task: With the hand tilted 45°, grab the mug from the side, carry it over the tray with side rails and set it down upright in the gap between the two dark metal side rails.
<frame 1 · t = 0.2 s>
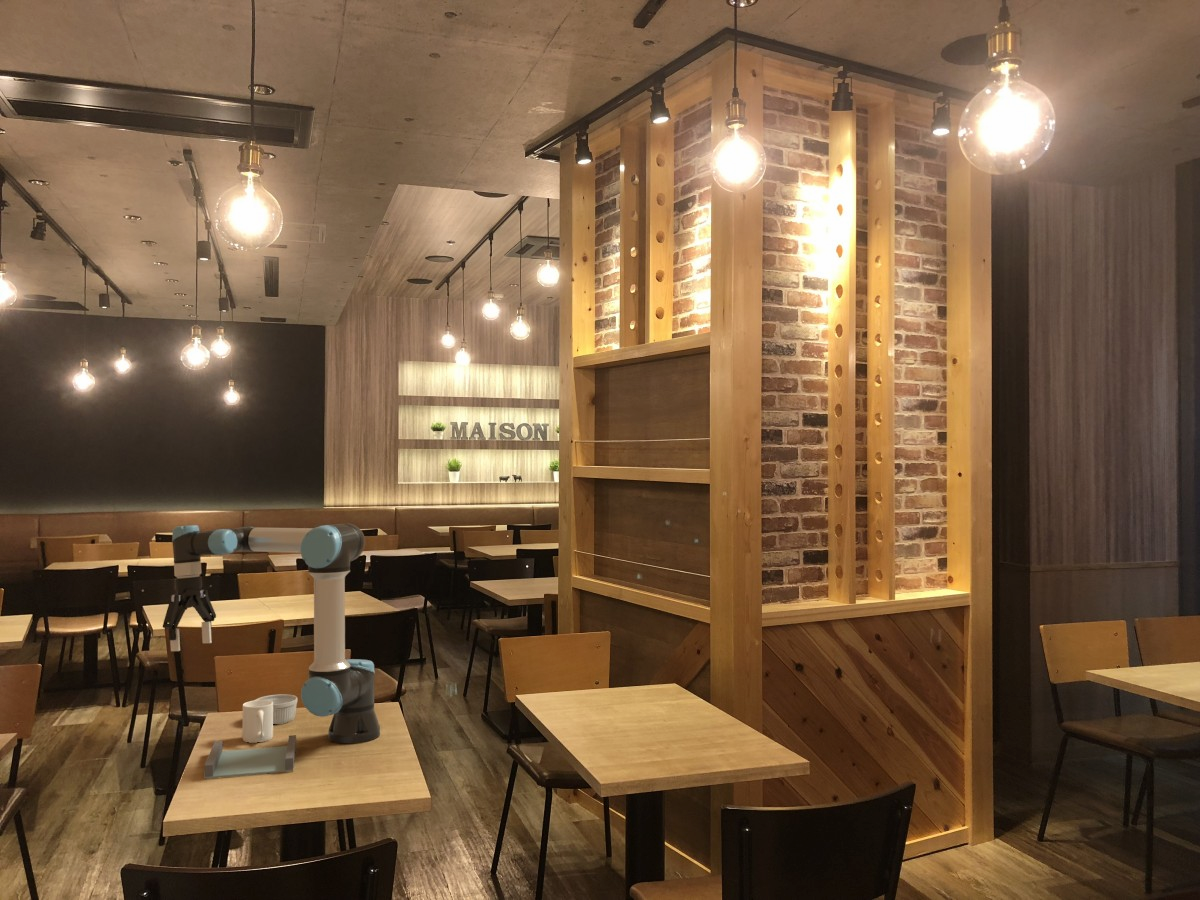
hand: (191, 647, 280), 27 cm above the table, tool pointing down, fingers open, 13 cm apart
mug: (258, 741, 276), on the table
ramekin: (275, 721, 298), on the table
tray with side rails: (252, 762, 256), on the table
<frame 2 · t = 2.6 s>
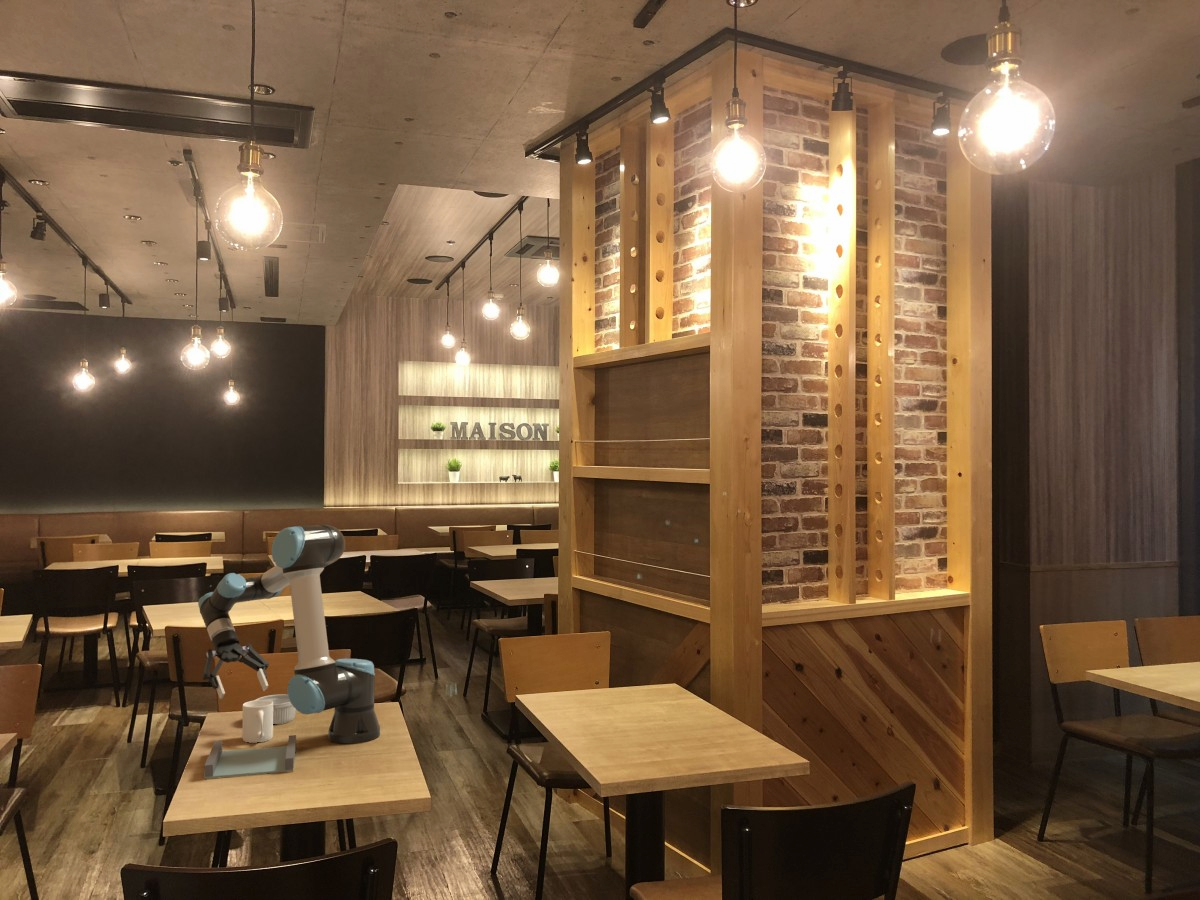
hand: (244, 692, 283), 13 cm above the table, tool tilted 45°, fingers open, 13 cm apart
nothing on the table moved.
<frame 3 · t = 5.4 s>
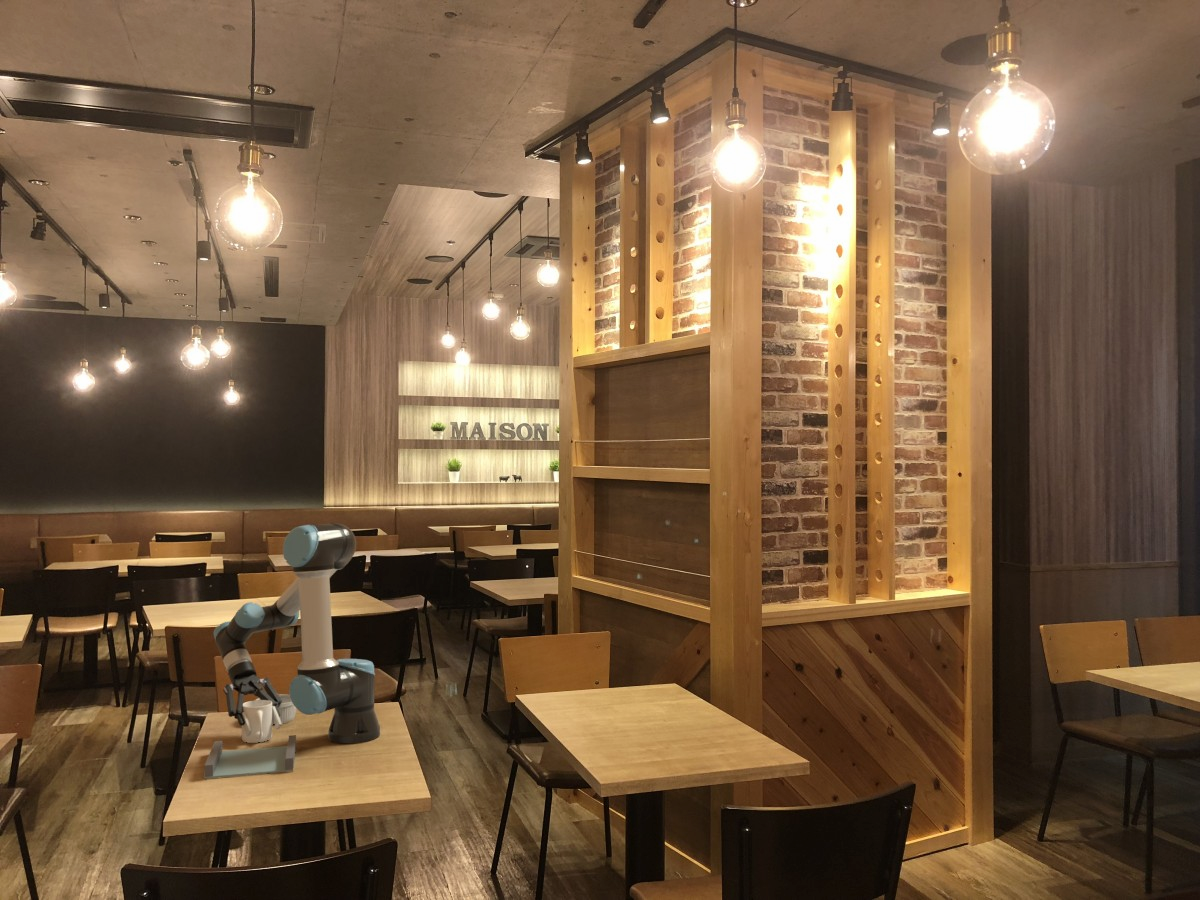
hand: (264, 730, 274), 4 cm above the table, tool tilted 45°, fingers closed on mug, 8 cm apart
mug: (257, 741, 276), on the table, touching gripper
everything else where it was.
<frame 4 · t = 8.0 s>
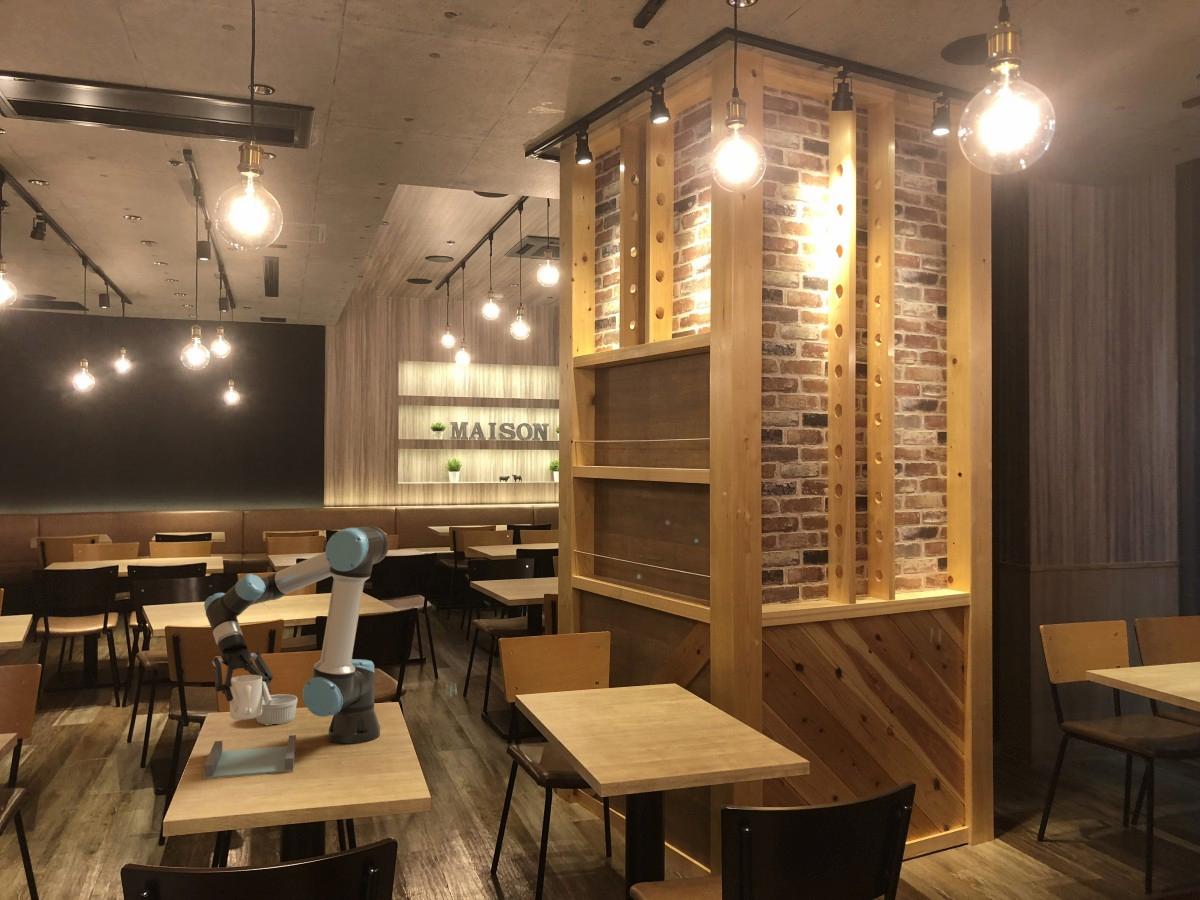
hand: (253, 706, 261), 14 cm above the table, tool tilted 45°, fingers closed on mug, 8 cm apart
mug: (246, 718, 263), point 10 cm above the table, touching gripper
everything else where it was.
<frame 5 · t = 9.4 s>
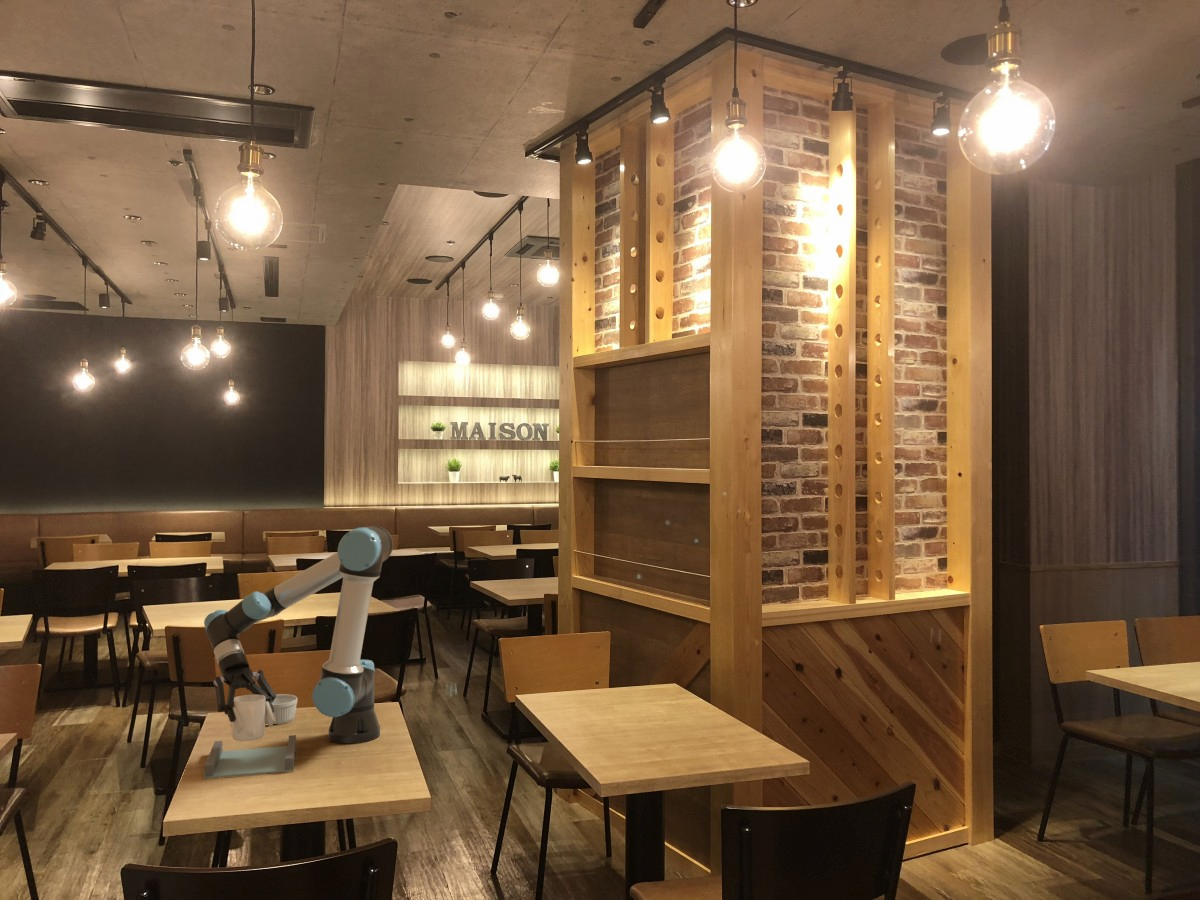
hand: (256, 726, 254), 10 cm above the table, tool tilted 45°, fingers closed on mug, 8 cm apart
mug: (249, 739, 256), point 6 cm above the table, touching gripper
everything else where it was.
when the fingers open (6 cm above the table, at t = 10.7 s): mug drops 1 cm, resting on tray with side rails.
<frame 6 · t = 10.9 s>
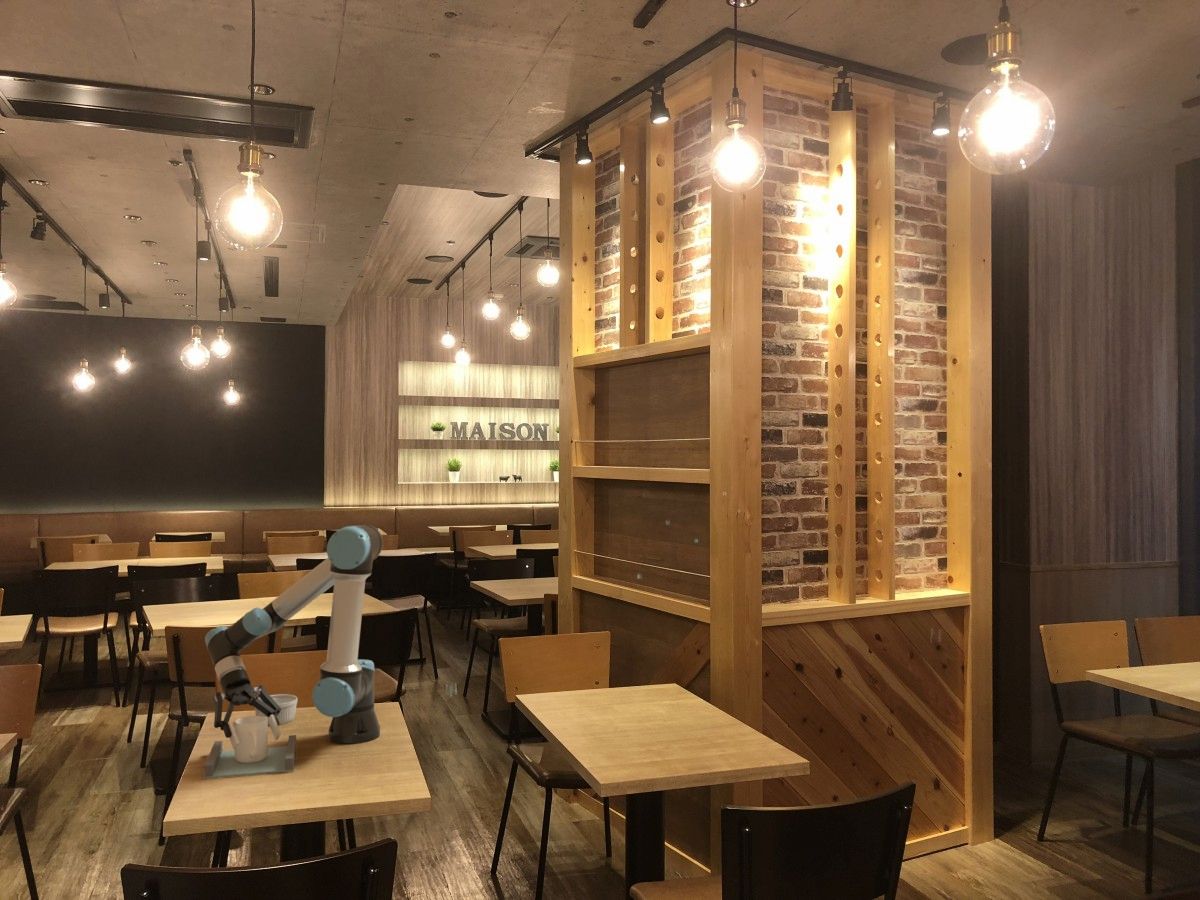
hand: (257, 741, 254), 6 cm above the table, tool tilted 45°, fingers open, 11 cm apart
mug: (252, 761, 256), resting on tray with side rails
everything else where it was.
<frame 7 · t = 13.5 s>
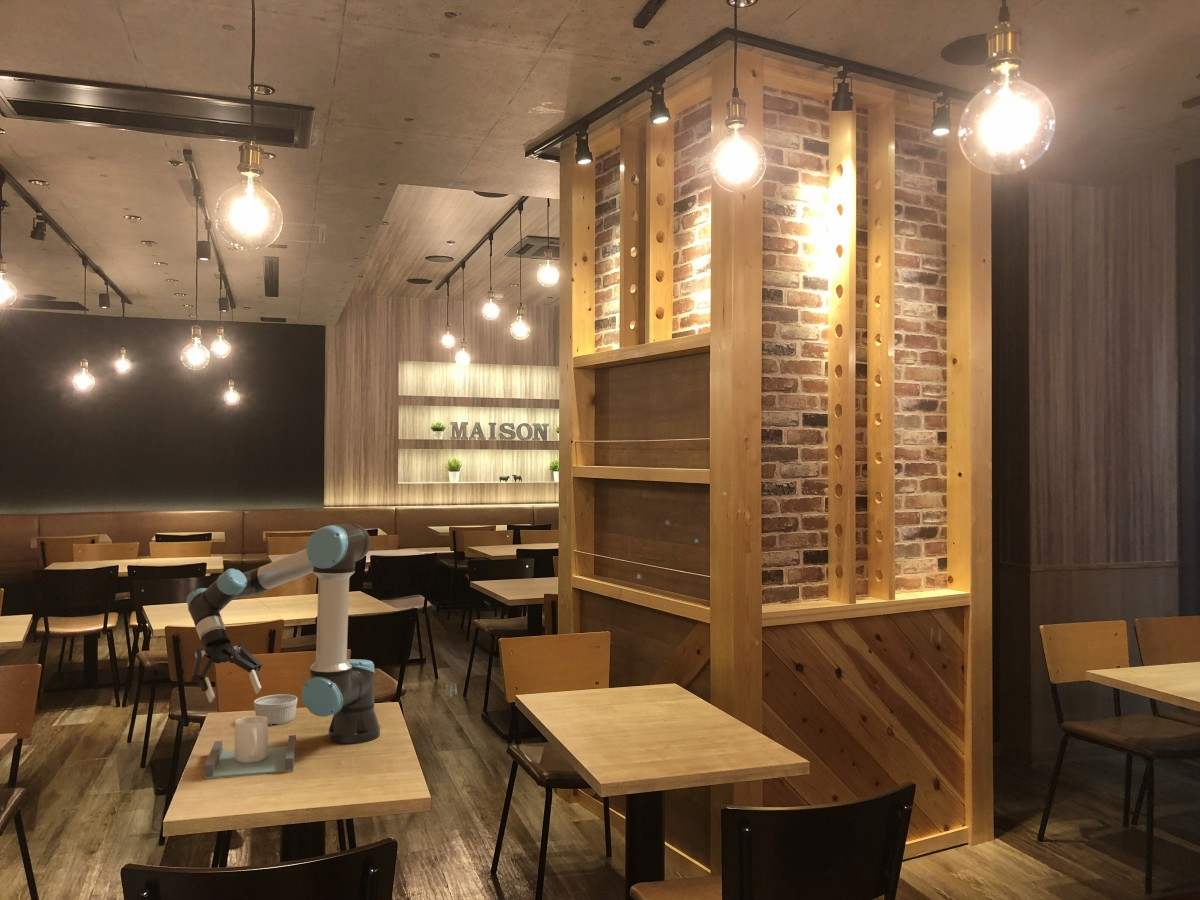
hand: (235, 695, 264), 17 cm above the table, tool tilted 45°, fingers open, 13 cm apart
nothing on the table moved.
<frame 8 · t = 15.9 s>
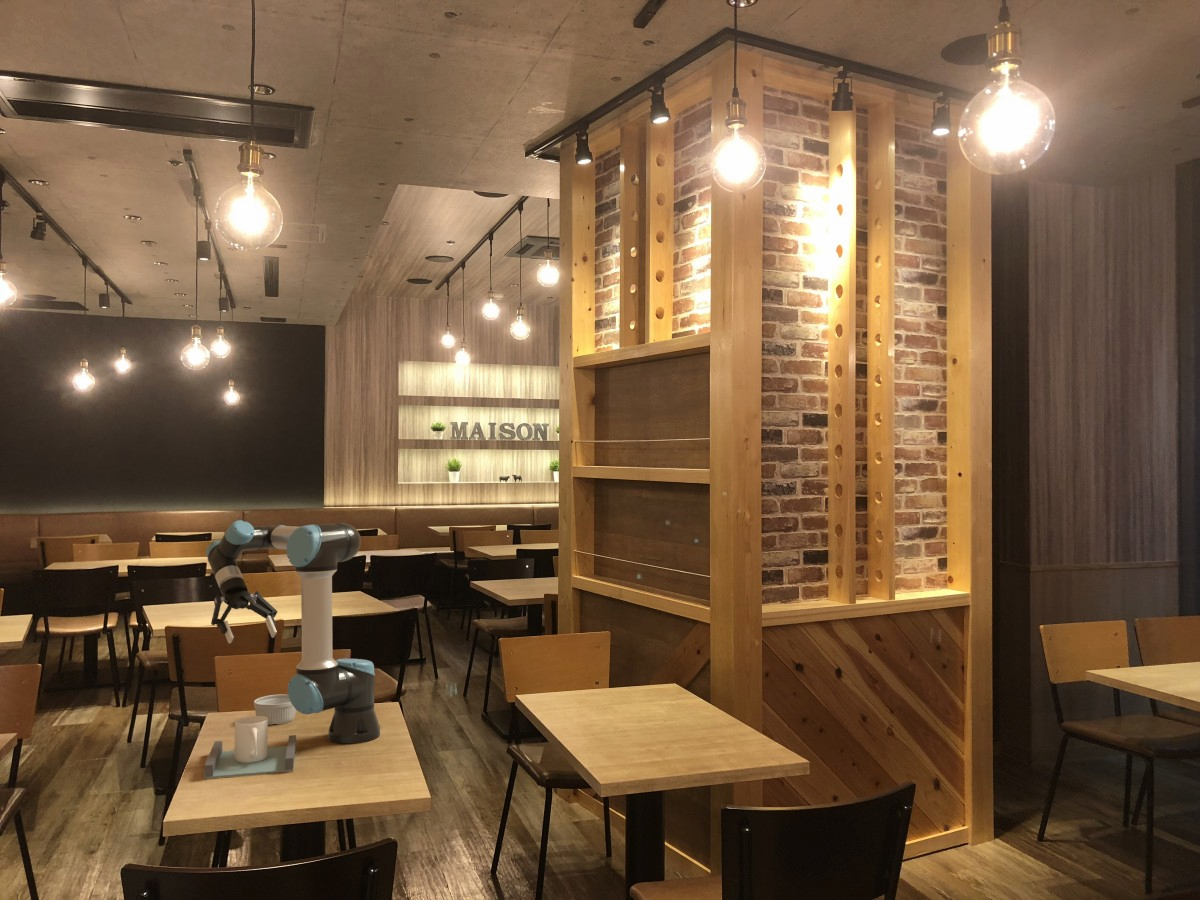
hand: (253, 637, 281), 30 cm above the table, tool tilted 45°, fingers open, 13 cm apart
nothing on the table moved.
at the end: mug 0.2 cm from the tray with side rails (horizontally); mug tilted 0°; the gripper is holding nothing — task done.
